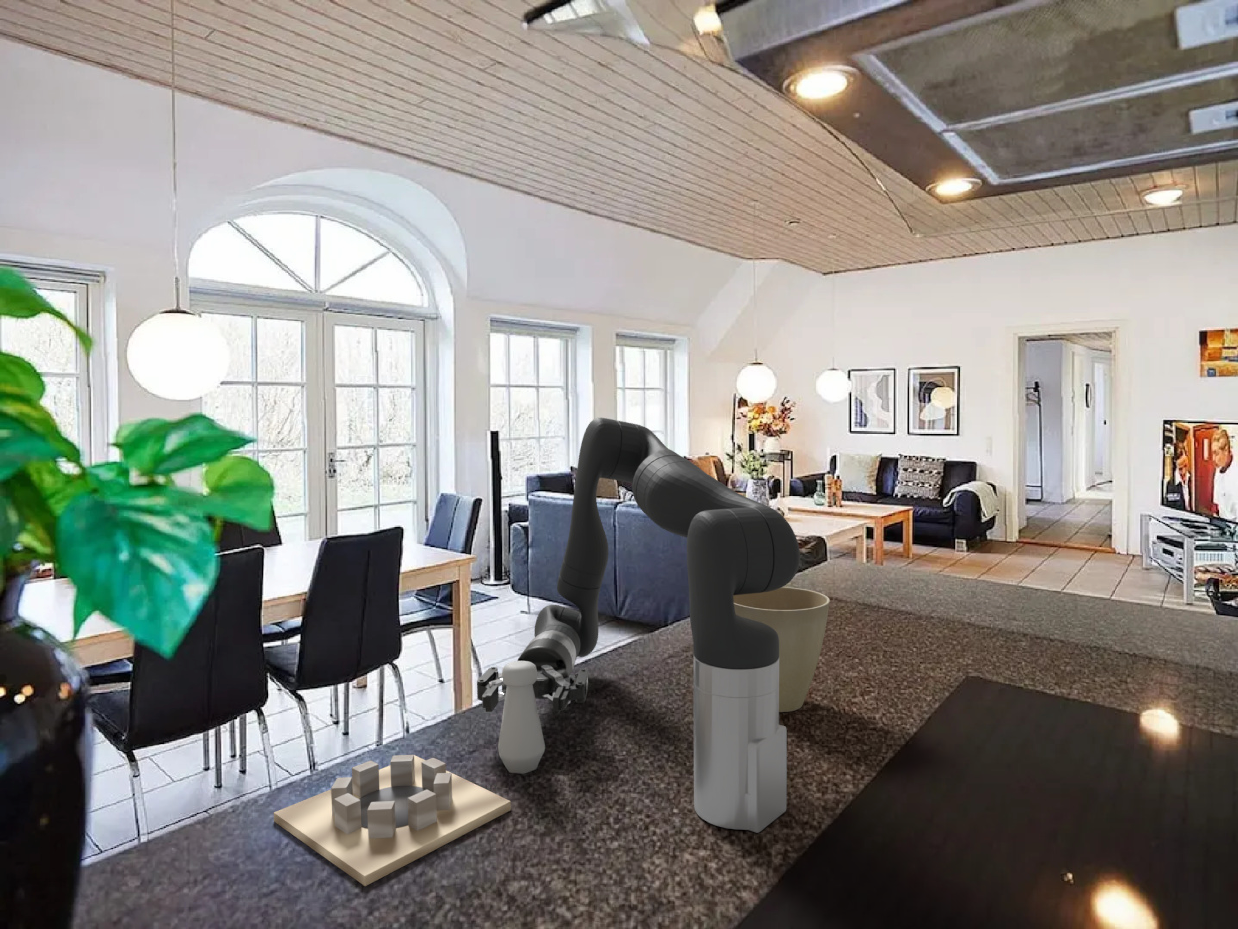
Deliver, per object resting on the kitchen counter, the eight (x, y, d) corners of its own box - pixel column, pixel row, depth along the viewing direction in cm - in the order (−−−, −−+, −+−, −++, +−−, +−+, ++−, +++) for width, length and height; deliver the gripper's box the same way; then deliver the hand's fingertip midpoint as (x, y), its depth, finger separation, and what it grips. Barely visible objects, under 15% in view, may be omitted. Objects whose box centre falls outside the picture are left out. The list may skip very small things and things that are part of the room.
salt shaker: (523, 751, 102) (520, 653, 101) (555, 764, 99) (553, 662, 98) (488, 768, 98) (485, 665, 97) (520, 781, 94) (518, 675, 93)
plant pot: (848, 702, 117) (849, 596, 116) (789, 732, 107) (790, 616, 106) (766, 678, 128) (766, 580, 127) (705, 702, 118) (705, 597, 117)
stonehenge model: (510, 810, 88) (510, 775, 87) (365, 886, 74) (363, 845, 74) (415, 763, 99) (414, 732, 99) (274, 821, 86) (272, 785, 86)
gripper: (498, 636, 115) (464, 674, 99) (595, 638, 113) (578, 677, 97) (499, 687, 115) (466, 733, 99) (596, 689, 114) (579, 736, 98)
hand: (521, 705), depth 98 cm, fingers open, 8 cm apart
